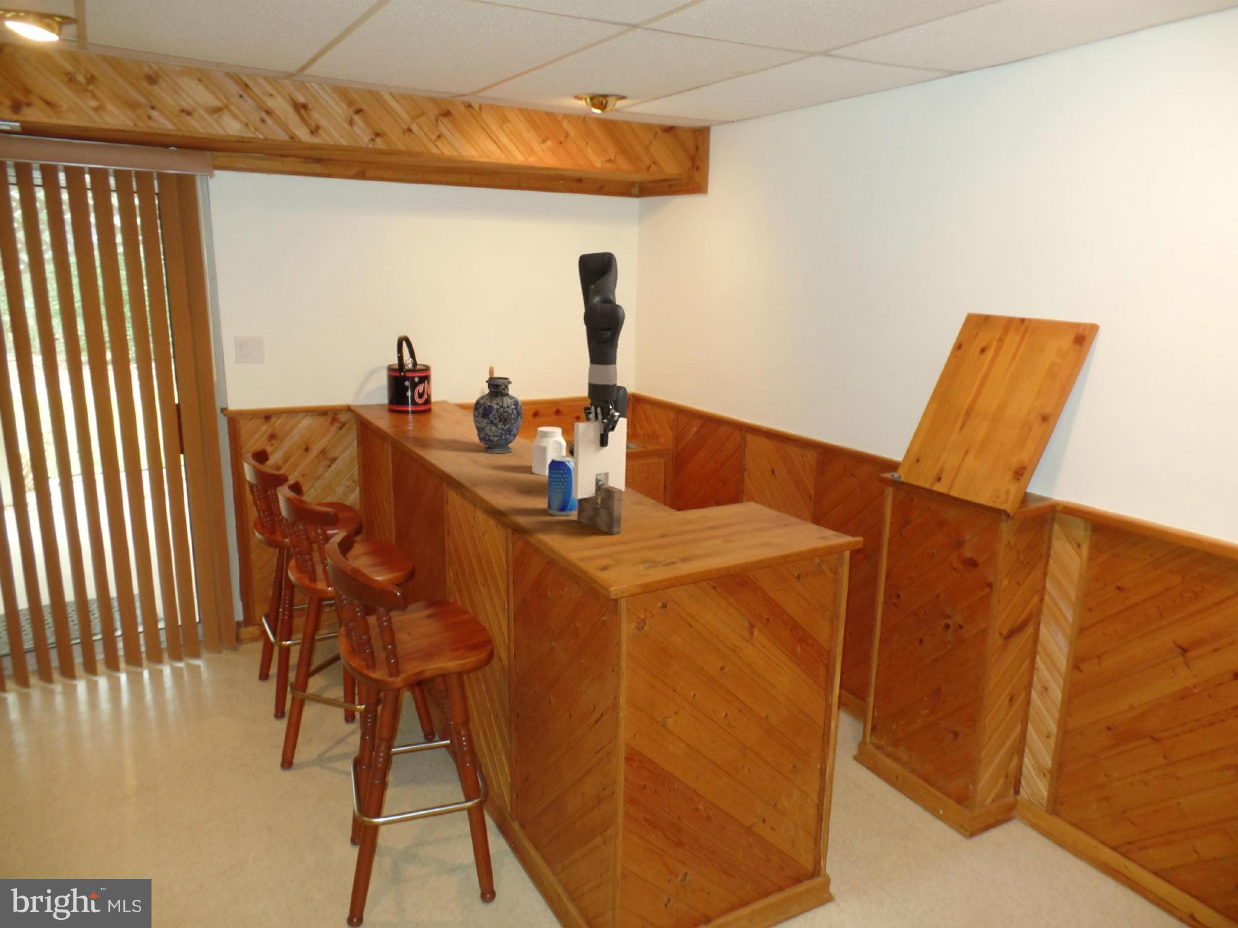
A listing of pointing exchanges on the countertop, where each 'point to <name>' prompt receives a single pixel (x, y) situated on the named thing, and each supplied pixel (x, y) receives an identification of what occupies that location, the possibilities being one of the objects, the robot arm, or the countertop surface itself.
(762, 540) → the countertop surface
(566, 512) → the beer can
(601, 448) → the cream plate
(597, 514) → the walnut notched block
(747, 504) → the countertop surface
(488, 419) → the decorative vase
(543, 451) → the jar
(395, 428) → the countertop surface
